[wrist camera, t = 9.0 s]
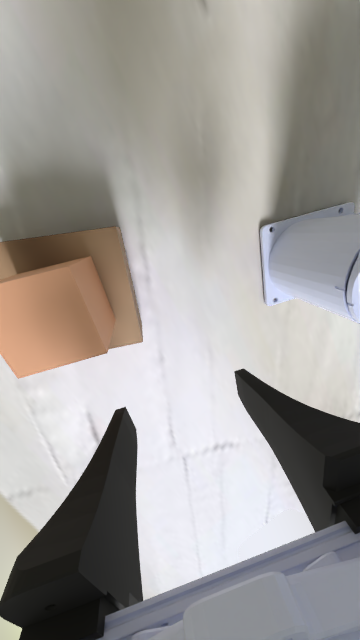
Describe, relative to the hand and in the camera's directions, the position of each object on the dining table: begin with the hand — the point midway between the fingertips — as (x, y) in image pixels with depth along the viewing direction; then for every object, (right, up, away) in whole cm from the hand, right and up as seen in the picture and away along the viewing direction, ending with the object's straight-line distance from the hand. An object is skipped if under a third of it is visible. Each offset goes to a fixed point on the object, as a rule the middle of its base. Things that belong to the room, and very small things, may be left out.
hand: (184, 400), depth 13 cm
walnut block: (-9, +8, +6) cm, 13 cm away
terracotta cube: (-8, +7, +2) cm, 11 cm away
